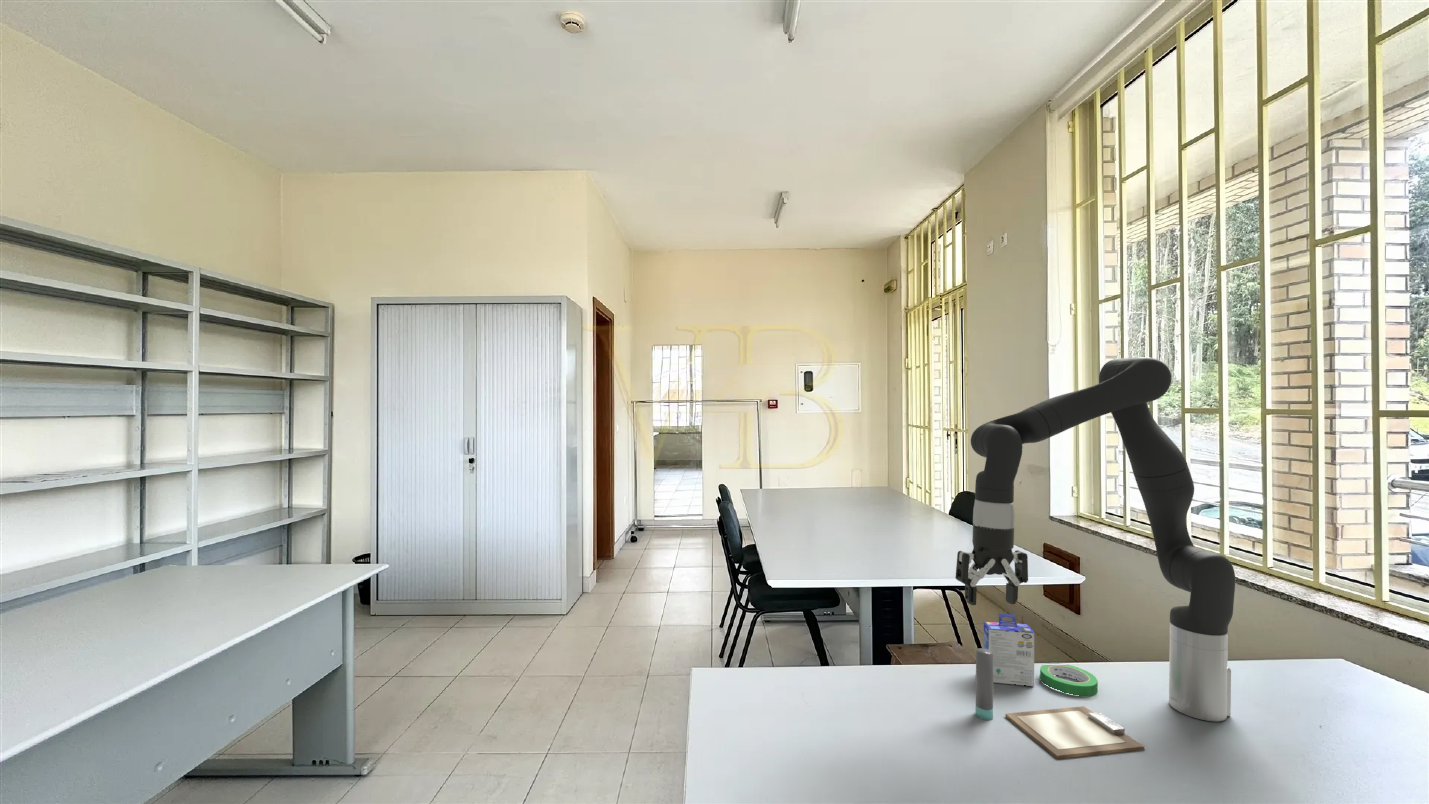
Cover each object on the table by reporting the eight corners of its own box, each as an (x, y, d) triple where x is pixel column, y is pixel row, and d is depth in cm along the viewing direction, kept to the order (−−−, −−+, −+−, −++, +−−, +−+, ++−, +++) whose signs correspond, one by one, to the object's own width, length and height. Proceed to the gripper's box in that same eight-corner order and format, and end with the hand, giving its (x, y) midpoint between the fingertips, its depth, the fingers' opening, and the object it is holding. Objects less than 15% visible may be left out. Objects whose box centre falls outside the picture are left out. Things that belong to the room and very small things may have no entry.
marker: (986, 710, 119) (986, 647, 119) (996, 719, 116) (997, 654, 116) (972, 712, 119) (972, 648, 119) (981, 720, 116) (982, 655, 116)
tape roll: (1093, 679, 134) (1093, 668, 134) (1101, 702, 124) (1102, 690, 124) (1038, 670, 138) (1038, 658, 138) (1042, 691, 128) (1042, 679, 128)
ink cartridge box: (1027, 676, 135) (1028, 613, 134) (1036, 687, 129) (1036, 622, 129) (982, 671, 137) (982, 610, 136) (988, 683, 131) (988, 619, 131)
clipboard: (1083, 709, 120) (1083, 701, 120) (1144, 749, 106) (1144, 740, 106) (1005, 716, 117) (1005, 708, 117) (1057, 759, 103) (1057, 750, 103)
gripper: (1013, 519, 122) (1011, 596, 122) (950, 519, 120) (948, 597, 120) (1038, 527, 114) (1036, 609, 114) (971, 527, 112) (968, 611, 112)
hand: (991, 603), depth 117 cm, fingers open, 8 cm apart
